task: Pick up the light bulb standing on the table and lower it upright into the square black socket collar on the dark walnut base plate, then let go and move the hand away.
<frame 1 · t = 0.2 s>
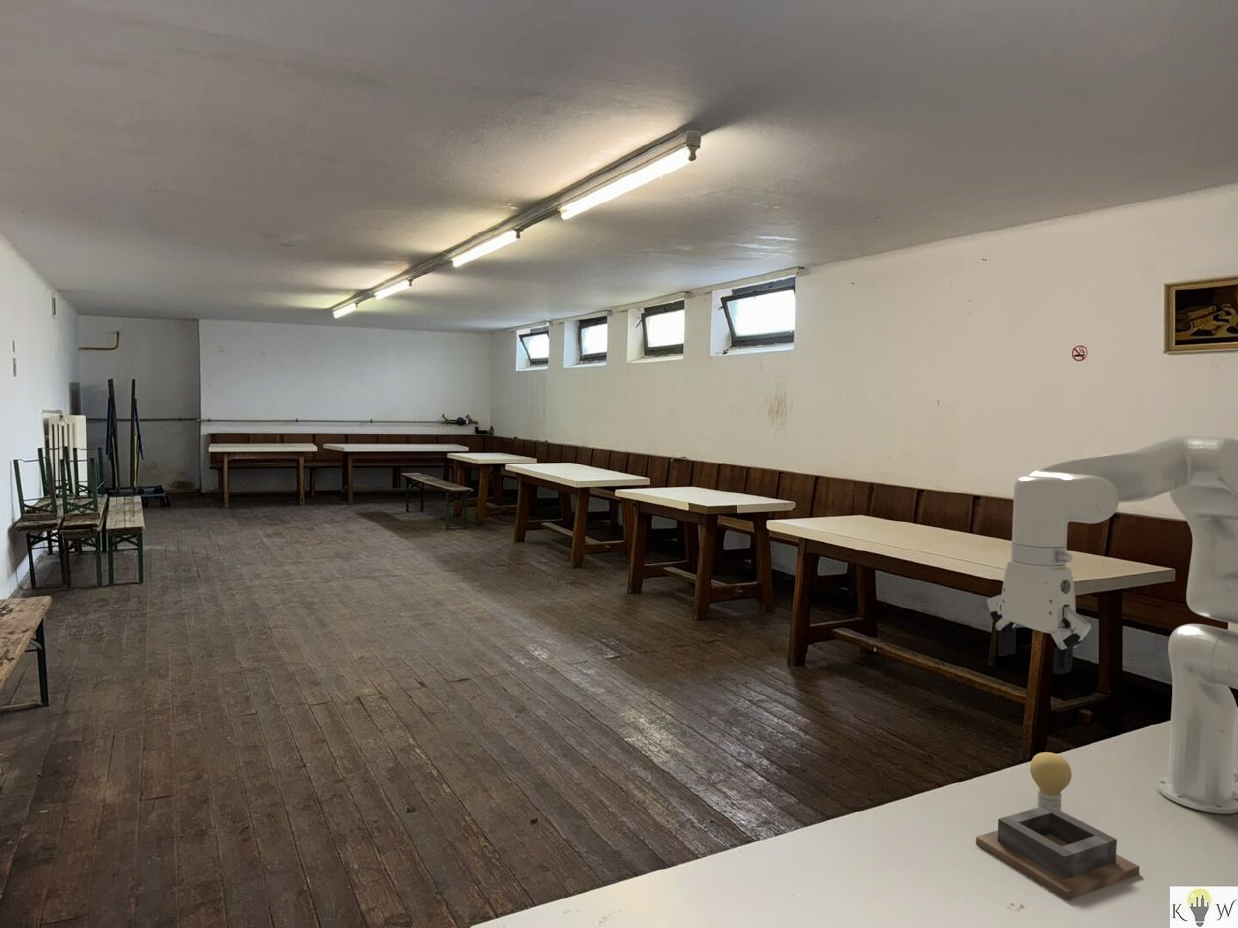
hand: (1033, 663, 124), 31 cm above the table, tool pointing down, fingers open, 9 cm apart
lamp socket: (1054, 858, 124), on the table
light bulb: (1048, 810, 139), on the table
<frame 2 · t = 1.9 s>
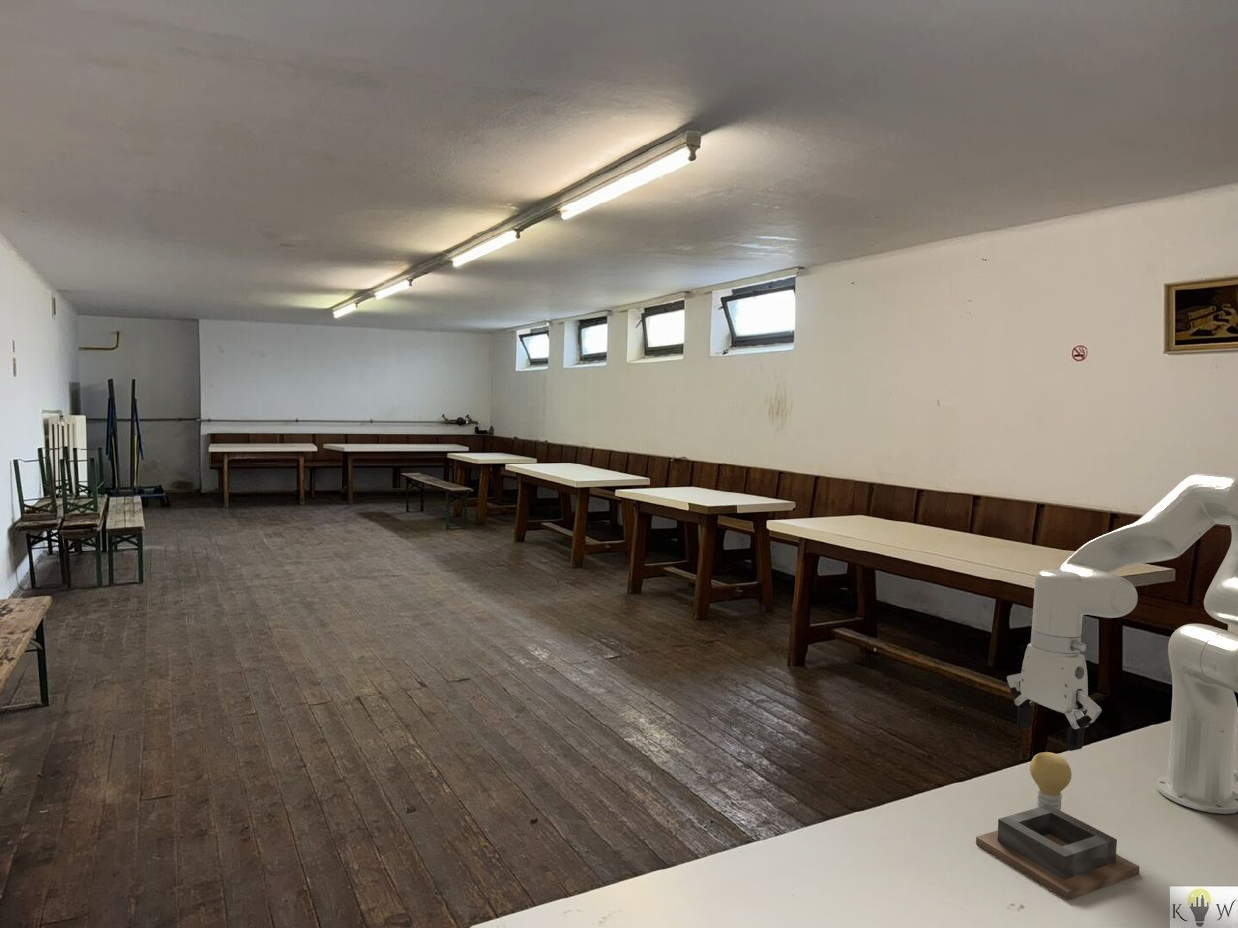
hand: (1048, 737, 138), 13 cm above the table, tool pointing down, fingers open, 9 cm apart
nothing on the table moved.
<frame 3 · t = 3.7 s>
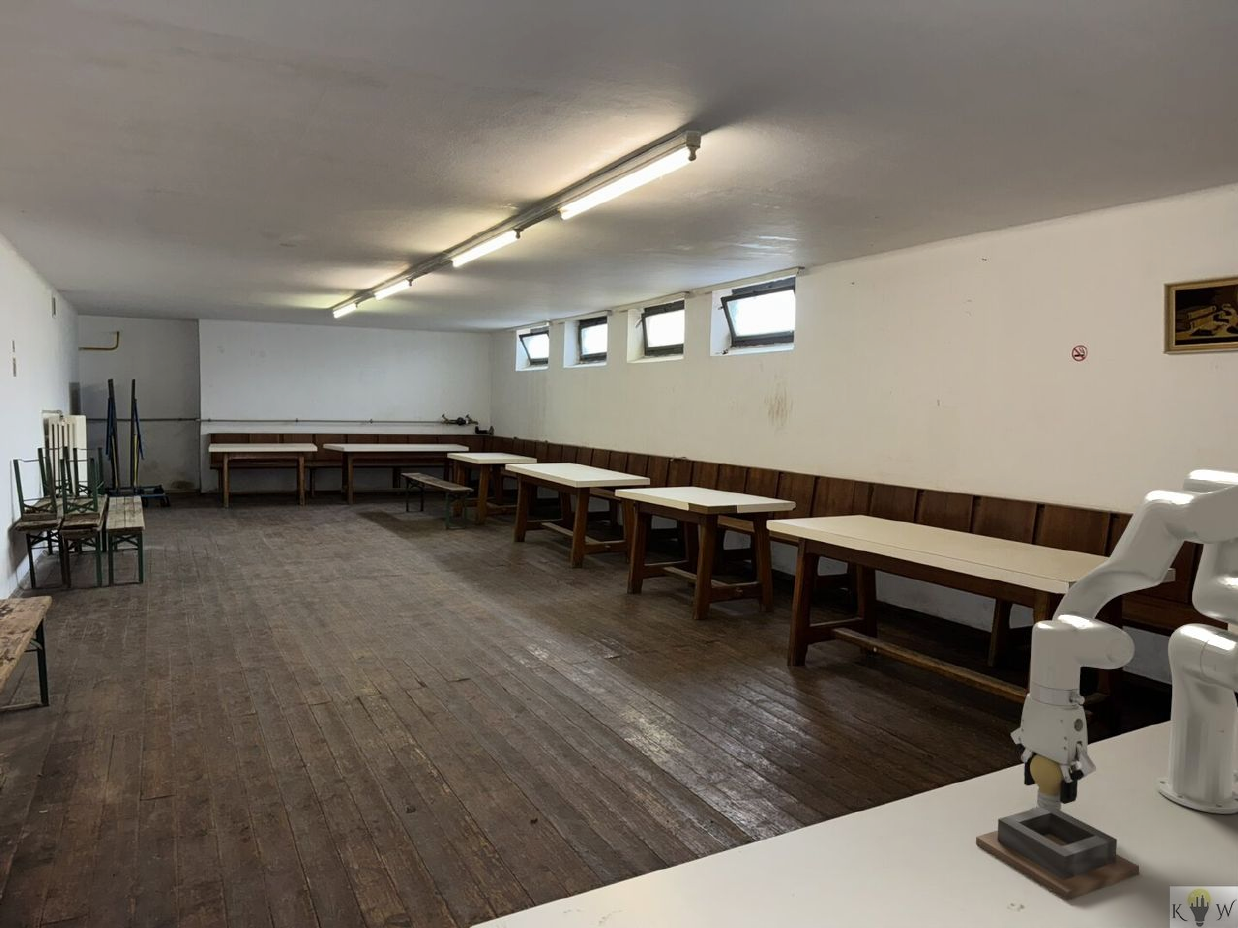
hand: (1049, 791, 139), 3 cm above the table, tool pointing down, fingers closed on light bulb, 6 cm apart
light bulb: (1048, 809, 139), on the table, touching gripper
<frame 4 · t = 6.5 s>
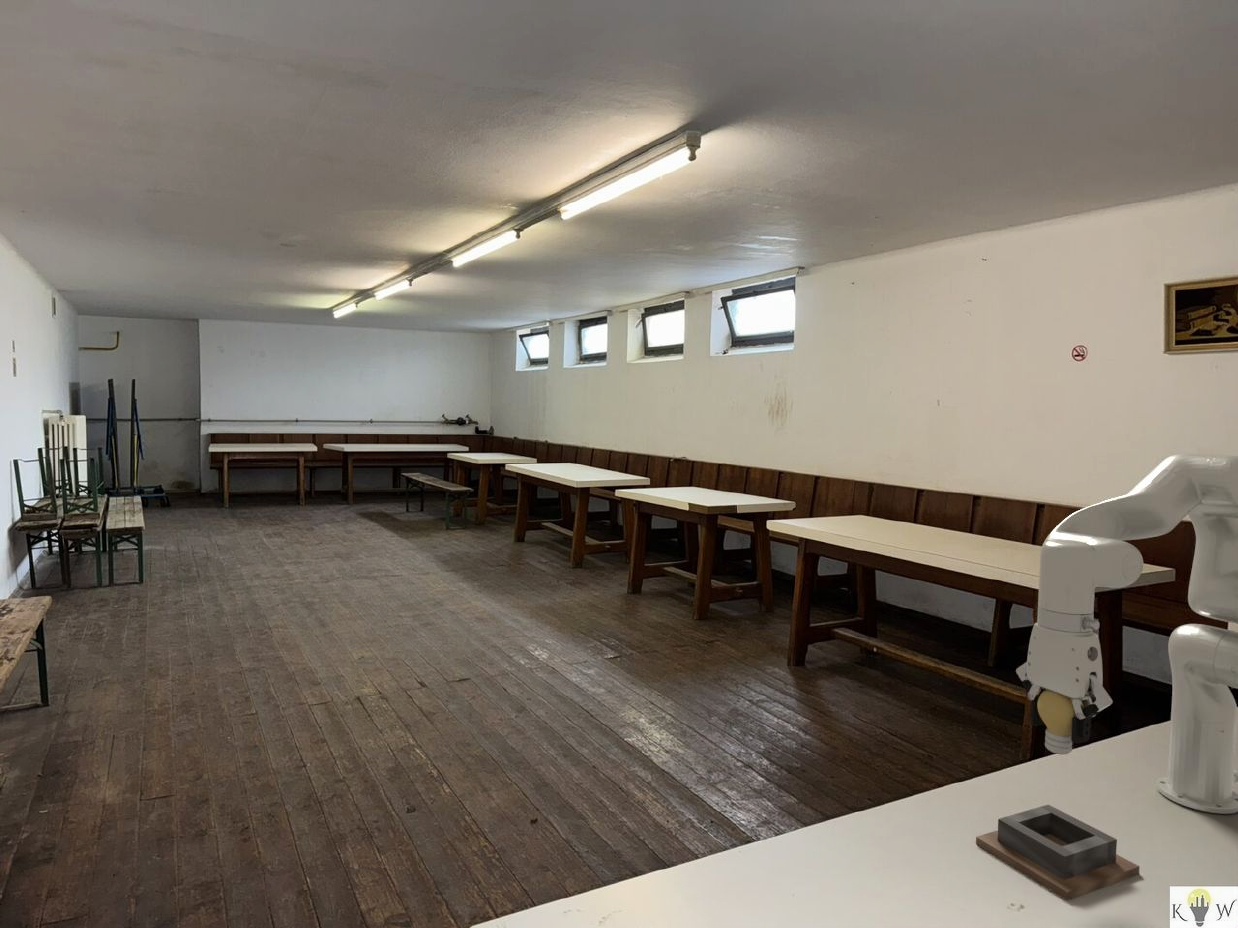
hand: (1059, 731, 123), 20 cm above the table, tool pointing down, fingers closed on light bulb, 6 cm apart
light bulb: (1058, 752, 124), point 17 cm above the table, touching gripper
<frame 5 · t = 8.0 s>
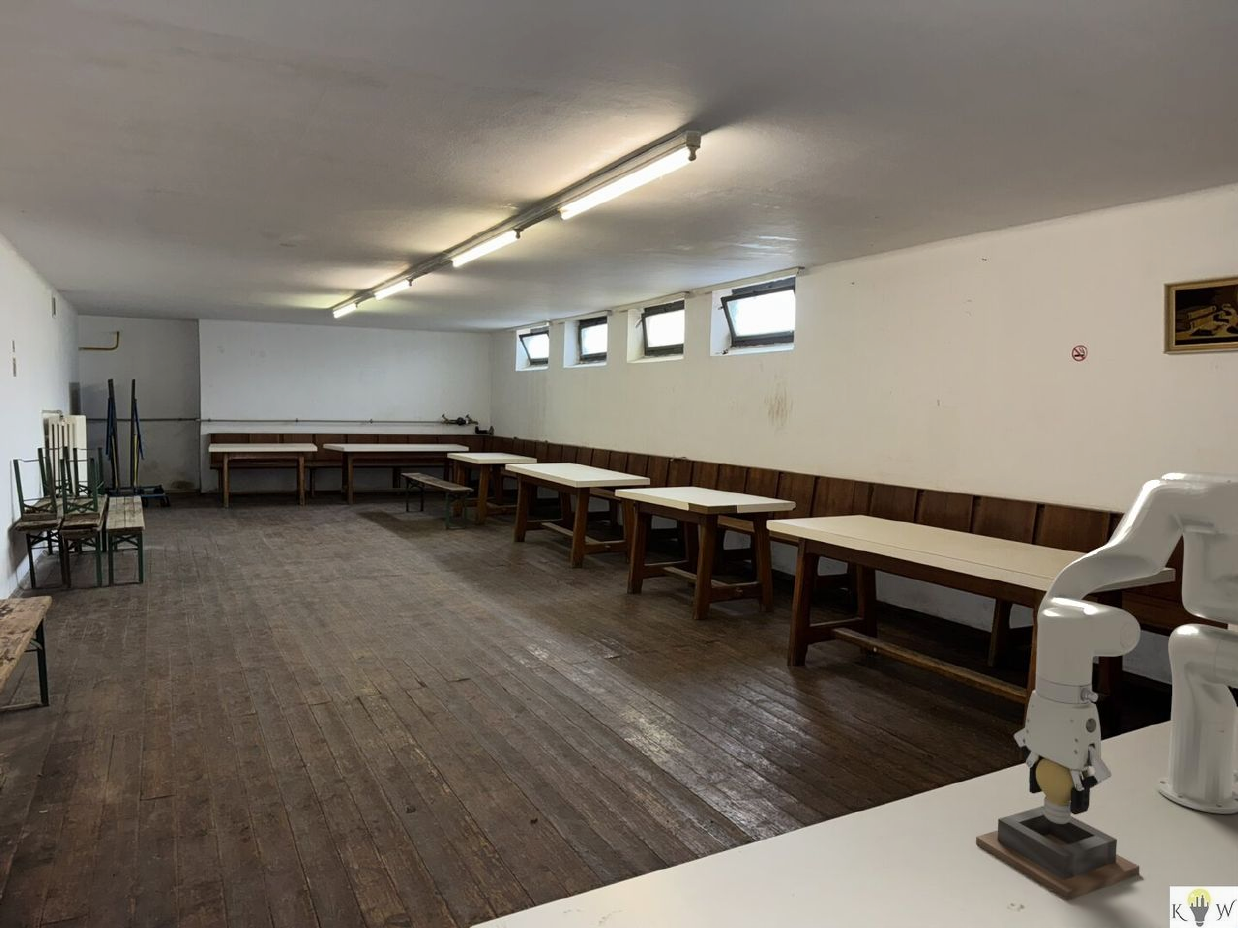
hand: (1057, 800, 123), 9 cm above the table, tool pointing down, fingers closed on light bulb, 6 cm apart
light bulb: (1056, 820, 123), point 6 cm above the table, touching gripper
when the fingers open (6 cm above the table, at t = 9.2 s): light bulb drops 2 cm, resting on lamp socket.
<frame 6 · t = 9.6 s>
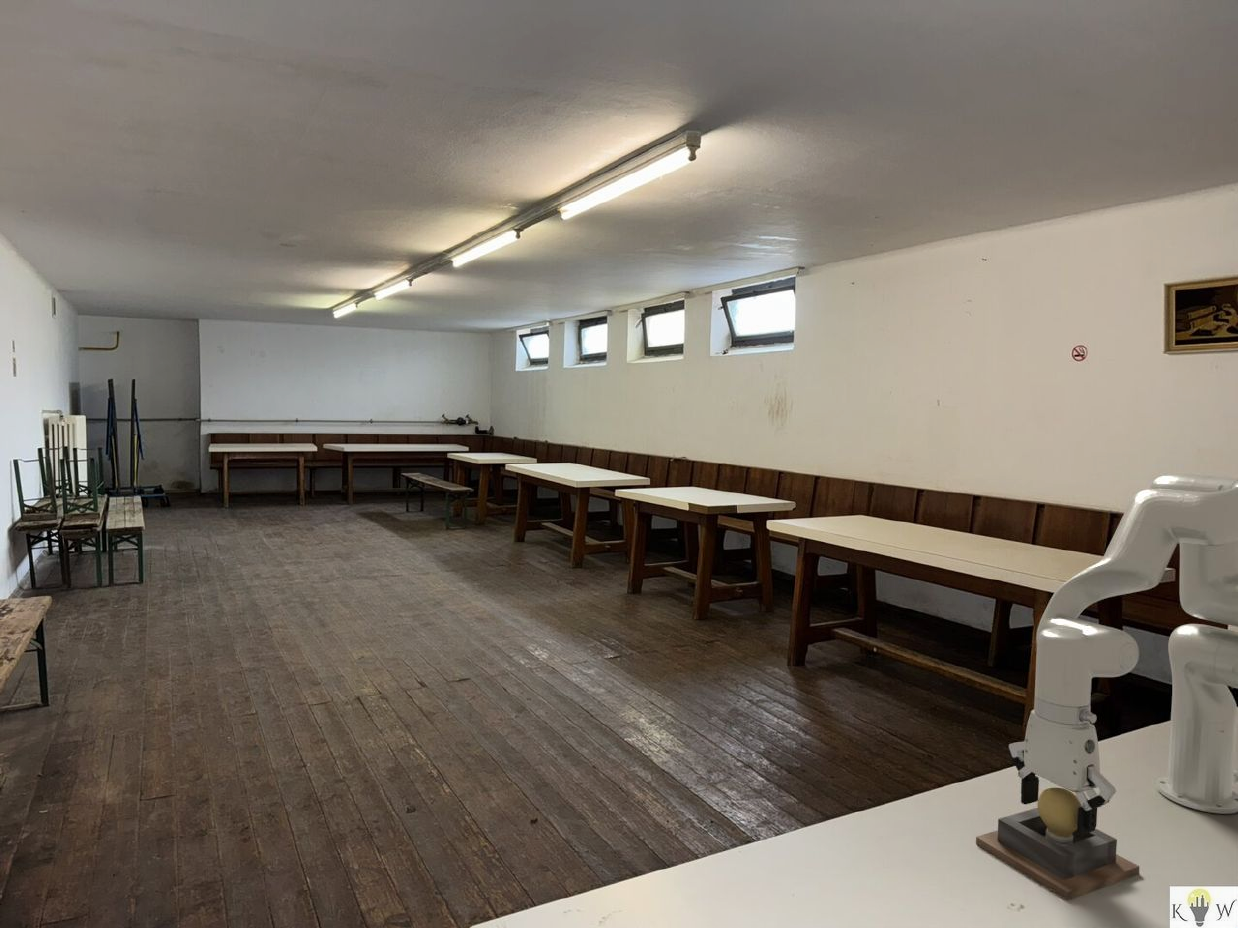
hand: (1056, 816, 123), 7 cm above the table, tool pointing down, fingers open, 9 cm apart
light bulb: (1058, 852, 123), point 1 cm above the table, touching lamp socket
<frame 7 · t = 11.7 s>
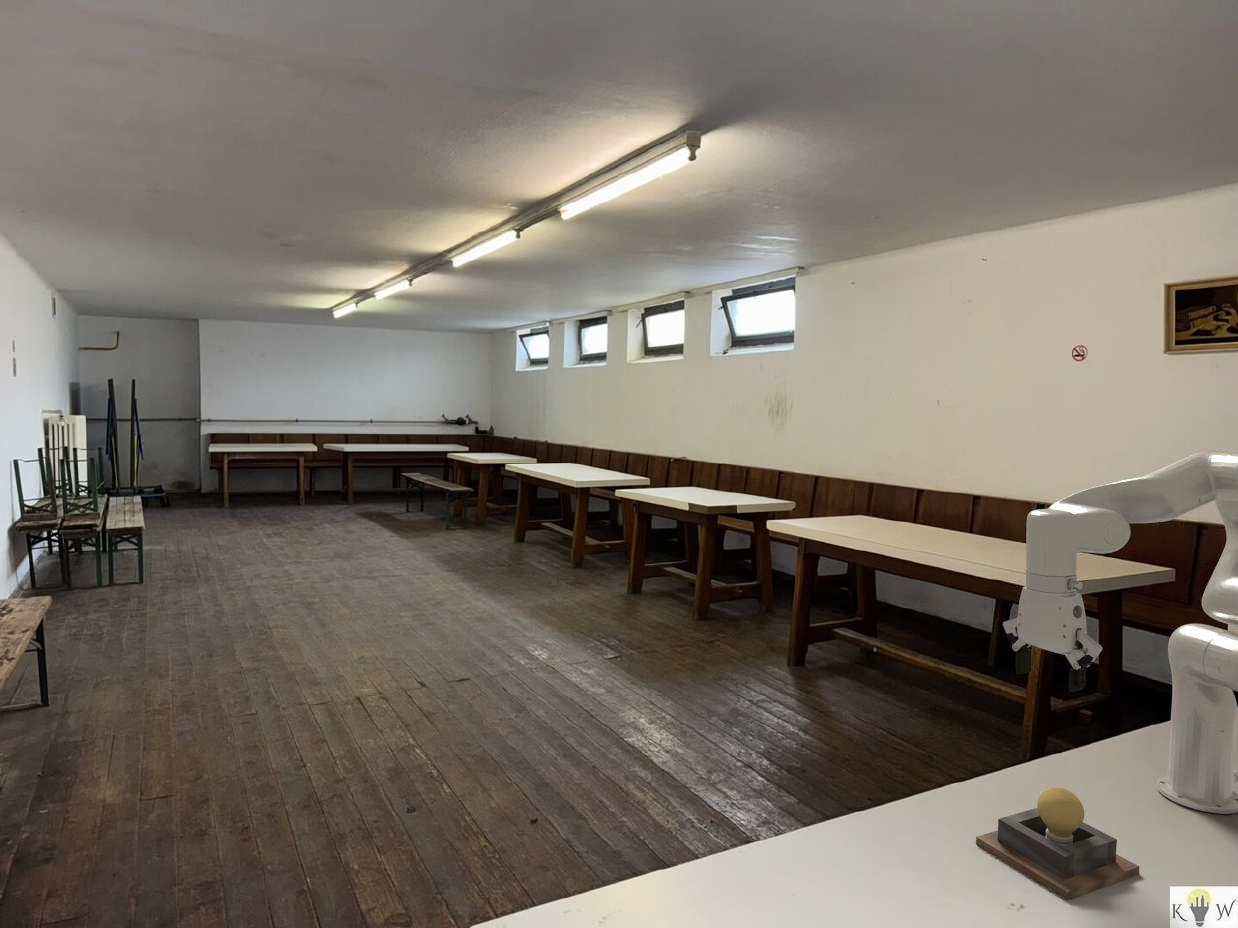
hand: (1049, 681, 134), 24 cm above the table, tool pointing down, fingers open, 9 cm apart
nothing on the table moved.
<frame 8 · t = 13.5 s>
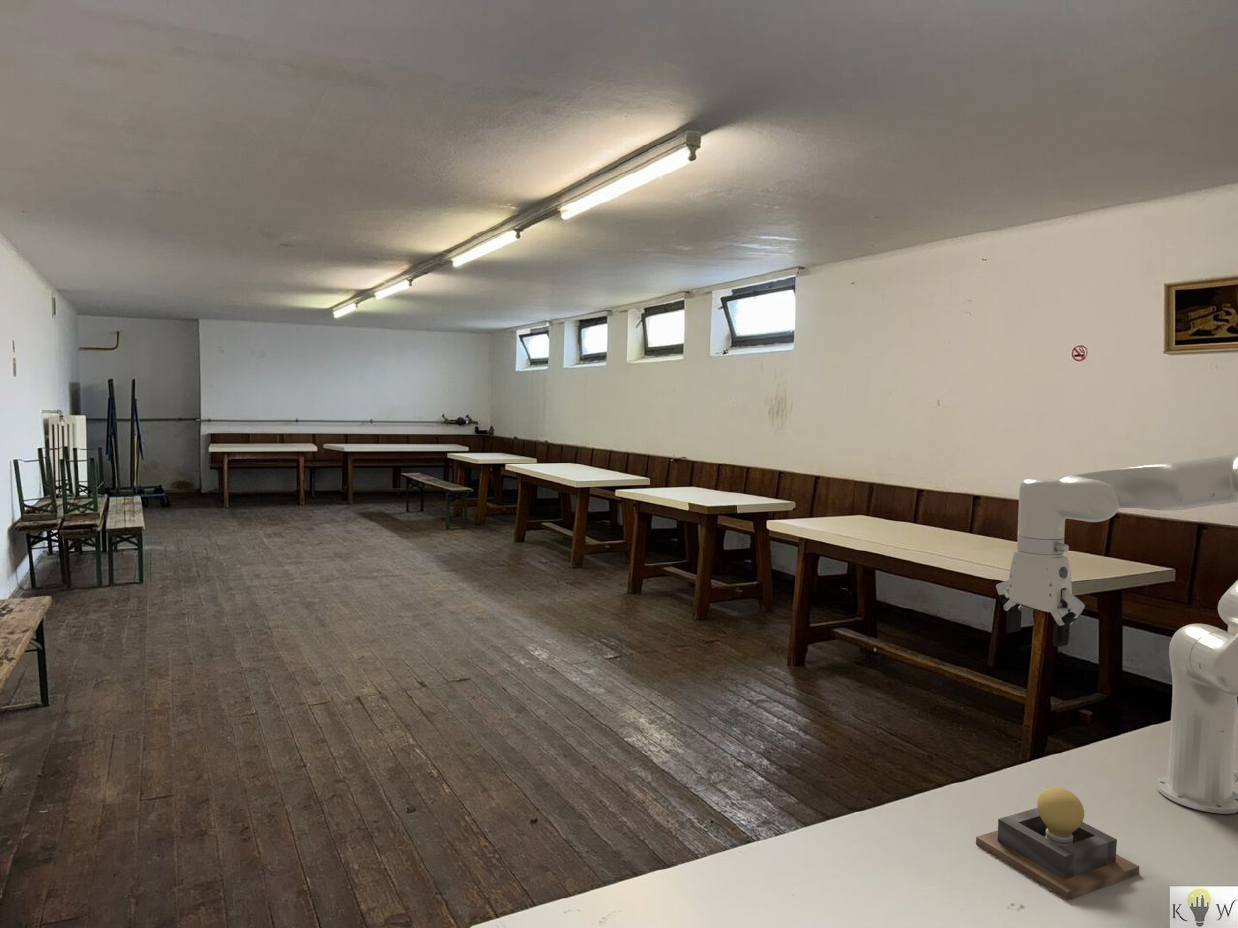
hand: (1036, 638, 145), 28 cm above the table, tool pointing down, fingers open, 9 cm apart
nothing on the table moved.
at the end: light bulb 0.4 cm off-centre on the lamp socket, point 1.0 cm above the lamp socket's base; light bulb tilted 0°; the gripper is holding nothing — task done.
